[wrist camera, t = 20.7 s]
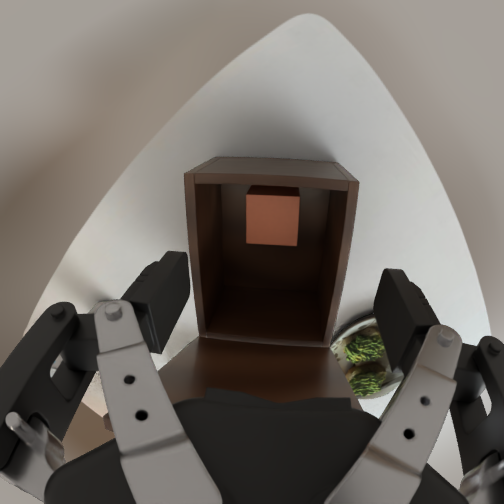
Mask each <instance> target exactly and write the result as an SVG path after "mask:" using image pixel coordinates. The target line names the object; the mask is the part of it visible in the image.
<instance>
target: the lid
mask: <svg viewBox="0 0 504 504" xmlns="http://www.w3.org/2000/svg"><path fill="white" fill-rule="evenodd" d="M157 372H158V374H159V377H160V379H161V382H162V384H163V386H164V389H165V391H166V393H167V395H168V398H169V400H170V402H171V404H174V403H176V402H179V401H181V400H185V399H189V398H195V397H204V395H205V392H206V388H207V387H211V388H217V389H224V390H232V391H240V392H244V393H247V394H250V395H253V396H256V397H260V398H263V399H266V400H269V401H273V402H276V403H285V402H291V401H298V400H304V399H309V398H315V397H333V398H342V397H350V398H351V406H352V408H356V409H359V410H362V411H363V409H362V407H361V405H360V403H359V401H358V399H357V397H356V396H355V394H354V392H353V390H352V388H351V386H350V384H349V382H348V380H347V378H346V376H345V374H344V373H343V371H342V369H341V367H340V365H339V363H338V361H337V359H336V357H335V356H334V354H333V352H332V350H331V348H330V347H307V346H289V345H275V344H262V343H251V342H241V341H231V340H223V339H214V338H207V337H199V336H198V337H197V338H196V339H195V340H194V341H192V342H191V343H190V344H189V345H188V346H187V347H185V348H184V349H183V350H182V351H181V352H180V353H178V354H177V355H176V356H175V357H174V358H173V359H171V360H170V361H169V362H168V363H167V364H166V365H164V366H163V367H162V368H161V369H160V370H158V371H157ZM103 420H104V425H105V429H107V430H110V431H113V428H112V424H111V420H110V417H109V413H107V414H105V415H104V416H103ZM113 432H114V431H113Z"/></svg>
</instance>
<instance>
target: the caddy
mask: <svg viewBox="0 0 504 504" xmlns="http://www.w3.org/2000/svg"><path fill="white" fill-rule="evenodd" d="M184 185H185V202H186V217H187V230H188V242H189V253H190V263H191V273H192V282H193V291H194V300H195V308H196V316H197V323H198V331H199V337H207V338H214V339H223V340H231V341H241V342H251V343H262V344H275V345H289V346H307V347H330V343H331V339H332V335H333V331H334V327H335V322H336V318H337V314H338V309H339V305H340V300H341V295H342V290H343V285H344V280H345V275H346V270H347V264H348V259H349V253H350V247H351V241H352V235H353V228H354V221H355V214H356V207H357V199H358V190H359V181H358V180H357V179H356V178H354V177H353V176H352V175H351V174H350V173H349V172H348V171H347V170H346V169H345V168H344V167H342V166H341V165H340V164H339V163H336V162H325V161H313V160H299V159H282V158H258V157H214V158H212V159H210V160H208V161H206V162H204V163H203V164H201V165H199V166H197V167H195V168H193V169H191V170H190V171H188V172H186V173H184ZM251 185H267V186H286V187H299V193H300V208H299V223H298V238H297V246H287V245H269V244H251V243H246V194H247V192H248V190H249V189H250V187H251Z"/></svg>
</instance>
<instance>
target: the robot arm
mask: <svg viewBox="0 0 504 504" xmlns="http://www.w3.org/2000/svg"><path fill="white" fill-rule="evenodd" d="M189 295H190V277H189V267H188V257H187V254H186V252H178V251H167V252H166V253H165V255H164V256H163V257H162V258H161V260H160V261H159V262H158V261H155V262H153V263H152V264H150V265H148V266H147V267H145V269H144V270H143V271H142V272H141V273H140V276H138V277H137V278H136V280H135V281H134V282H133V283H132V285H131V286H130V287H129V288H128V290H127V291H126V292H125V293H124V295H123V296H122V297H121V299H116V300H110V301H107V302H105V303H103V304H102V305H100V306H99V307H98V308H97V309H96V311H95V313H93V314H77V312H76V309H75V306H74V305H73V304H72V303H70V302H59V303H56V304H53V305H51V306H50V307H49V308H47V309H46V310H45V311H44V313H43V314H42V315H41V316H40V317H39V319H38V320H37V321H36V322H35V323H34V325H33V326H32V327H31V328H30V329H29V331H28V332H27V333H26V334H25V336H24V337H23V338H22V340H21V341H20V342H19V343H18V345H17V346H16V347H15V349H14V350H13V351H12V353H11V354H10V355H9V357H8V358H7V360H6V361H5V362H4V364H3V365H2V366H1V368H0V477H1V478H2V479H4V480H5V481H7V482H8V483H10V484H12V485H15V486H16V487H18V488H19V489H21V490H23V491H24V492H27V493H29V494H31V495H33V496H34V497H35V498H37V499H39V500H40V501H42V502H44V504H504V344H503V343H502V342H501V341H500V340H498V339H497V338H495V337H492V336H484V337H483V338H482V339H481V340H480V342H479V343H478V345H477V346H474V345H469V344H465V343H462V339H461V337H460V335H459V334H458V333H457V332H456V331H455V330H454V329H452V328H450V327H448V326H445V325H441V324H440V322H439V320H438V318H437V317H436V315H435V313H434V311H433V309H432V308H431V306H430V305H429V302H428V301H427V299H425V296H424V294H423V292H422V291H421V289H420V288H419V287H418V286H416V285H415V284H414V283H413V282H410V281H409V279H408V278H407V276H406V274H405V273H404V271H403V270H402V269H389V268H385V269H384V270H383V273H382V276H381V279H380V283H379V286H378V290H377V293H376V296H375V300H374V306H373V311H374V316H375V319H376V322H377V325H378V328H379V331H380V334H381V337H382V341H383V344H384V347H385V350H386V354H387V357H388V361H389V364H390V368H391V371H392V373H403V374H404V377H403V379H402V381H401V383H400V384H399V386H398V388H397V390H396V391H395V393H394V395H393V397H392V398H391V400H390V402H389V403H388V405H387V407H386V408H385V410H384V412H383V413H382V415H381V416H380V418H379V419H378V418H377V417H375V416H373V415H371V414H369V413H367V412H365V411H362V410H359V409H356V408H352V406H351V398H350V397H342V398H333V397H315V398H309V399H304V400H298V401H291V402H285V403H276V402H273V401H269V400H266V399H263V398H260V397H256V396H253V395H250V394H247V393H244V392H240V391H232V390H224V389H217V388H211V387H207V388H206V392H205V395H204V397H195V398H189V399H185V400H181V401H179V402H176V403H174V404H171V402H170V400H169V398H168V395H167V393H166V391H165V389H164V386H163V384H162V382H161V379H160V377H159V374H158V372H157V370H156V367H155V365H154V362H153V360H152V357H151V355H150V353H151V352H152V353H157V354H162V352H163V350H164V348H165V346H166V343H167V341H168V339H169V337H170V335H171V333H172V331H173V329H174V327H175V325H176V323H177V321H178V319H179V317H180V315H181V313H182V311H183V309H184V307H185V305H186V303H187V301H188V298H189ZM59 354H60V356H61V357H62V359H63V360H62V362H61V363H60V365H59V366H58V368H57V369H56V371H55V373H54V374H53V376H52V378H51V376H50V370H51V367H52V365H53V363H54V362H55V360H56V359H57V357H58V356H59ZM96 371H99V374H100V379H101V383H102V388H103V393H104V397H105V401H106V405H107V409H108V413H109V417H110V420H111V424H112V428H113V431H114V434H115V438H113V439H112V440H110V441H108V442H106V443H104V444H103V445H101V446H99V447H97V448H95V449H93V450H91V451H89V452H87V453H86V454H84V455H82V456H80V457H78V458H76V459H74V460H72V461H70V462H68V463H66V464H65V459H64V448H63V445H62V440H63V438H64V436H65V434H66V431H67V429H68V427H69V425H70V423H71V421H72V419H73V416H74V414H75V412H76V410H77V408H78V406H79V404H80V402H81V400H82V398H83V396H84V394H85V392H86V390H87V388H88V386H89V384H90V382H91V381H92V379H93V377H94V375H95V373H96ZM485 388H486V389H487V391H488V394H489V396H490V399H491V402H492V407H491V411H490V413H489V415H488V416H487V414H486V411H485V408H484V405H483V402H482V399H481V396H480V395H481V393H482V392H483V391H484V390H485ZM449 409H450V413H451V417H452V420H453V424H454V429H455V433H456V438H457V442H458V447H459V452H460V457H461V463H462V469H463V475H464V477H463V479H462V481H461V484H460V489H458V490H457V489H456V488H455V487H454V486H452V485H451V484H450V483H449V482H448V481H447V480H445V478H443V477H442V476H441V475H440V474H439V473H438V472H437V471H435V470H434V469H433V468H432V467H431V466H430V465H429V464H428V463H427V460H428V458H429V456H430V454H431V452H432V450H433V448H434V445H435V443H436V441H437V438H438V436H439V433H440V431H441V429H442V426H443V424H444V421H445V418H446V416H447V413H448V410H449Z"/></svg>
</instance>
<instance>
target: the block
mask: <svg viewBox="0 0 504 504" xmlns="http://www.w3.org/2000/svg"><path fill="white" fill-rule="evenodd" d="M299 208H300V193H299V187H286V186H267V185H251V187H250V189H249V190H248V192H247V194H246V243H251V244H269V245H287V246H297V238H298V223H299Z"/></svg>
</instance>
